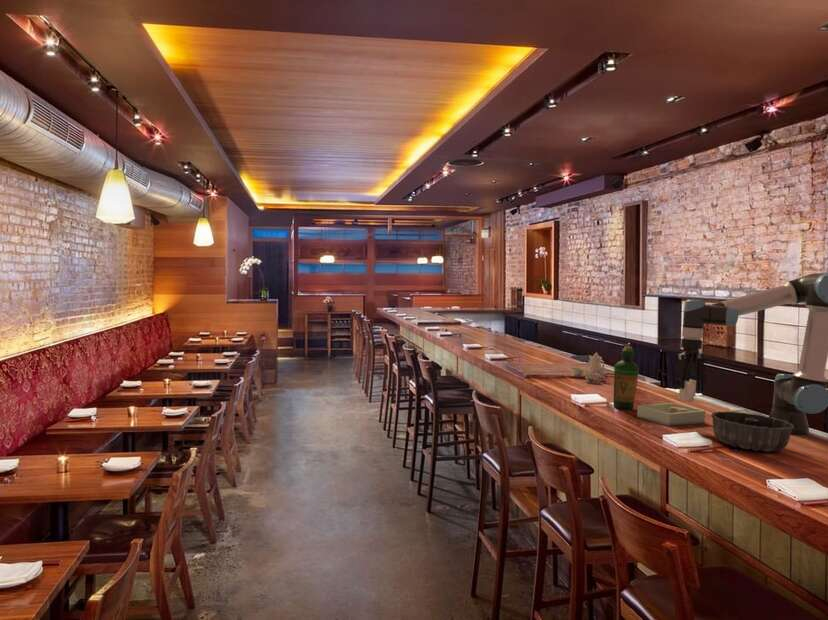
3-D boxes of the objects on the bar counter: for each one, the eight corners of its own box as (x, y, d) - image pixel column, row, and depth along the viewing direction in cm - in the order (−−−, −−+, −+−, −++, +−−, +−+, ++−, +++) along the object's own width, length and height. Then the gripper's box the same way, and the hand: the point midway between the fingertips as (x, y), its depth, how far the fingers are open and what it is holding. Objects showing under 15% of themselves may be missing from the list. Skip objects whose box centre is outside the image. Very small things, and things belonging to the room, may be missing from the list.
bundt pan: (718, 432, 240) (720, 407, 239) (796, 447, 223) (799, 420, 223) (700, 444, 220) (702, 417, 219) (784, 462, 203) (787, 432, 202)
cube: (686, 420, 253) (687, 409, 253) (678, 421, 251) (679, 409, 251) (676, 418, 258) (677, 406, 257) (668, 418, 255) (669, 407, 255)
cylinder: (696, 401, 243) (697, 383, 243) (688, 402, 241) (689, 384, 240) (685, 398, 248) (686, 381, 247) (677, 399, 245) (678, 382, 245)
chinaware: (565, 378, 364) (564, 350, 363) (589, 375, 369) (589, 348, 367) (590, 387, 337) (590, 357, 336) (617, 384, 342) (616, 355, 340)
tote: (704, 422, 255) (705, 411, 255) (668, 426, 245) (669, 414, 245) (672, 414, 270) (673, 402, 269) (637, 417, 259) (638, 405, 259)
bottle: (620, 411, 270) (624, 348, 268) (606, 405, 280) (610, 345, 278) (640, 410, 272) (645, 348, 271) (626, 405, 283) (631, 345, 281)
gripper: (697, 337, 250) (693, 393, 252) (669, 337, 241) (664, 395, 243) (714, 339, 244) (709, 396, 245) (685, 339, 235) (680, 399, 236)
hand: (687, 396), depth 244 cm, fingers closed on cylinder, 5 cm apart
